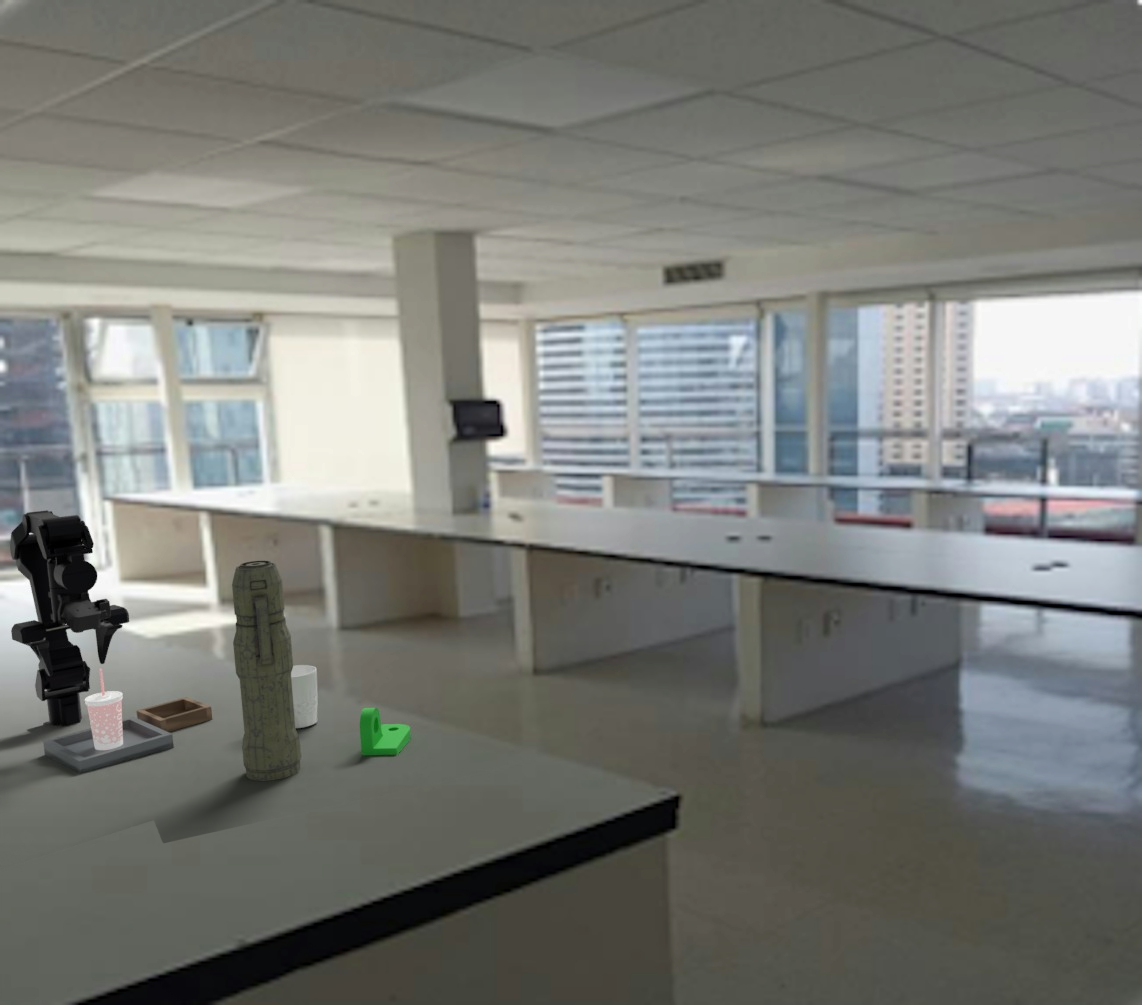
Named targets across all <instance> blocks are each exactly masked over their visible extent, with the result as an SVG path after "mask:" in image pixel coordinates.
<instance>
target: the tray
mask: <svg viewBox="0 0 1142 1005" xmlns="http://www.w3.org/2000/svg"><path fill="white" fill-rule="evenodd" d="M122 727H123V744H122V745H121V746H119V747H117V748H114V749H110V750H96V749H95V746H94V741H93V735H92V730H91V727H90V728H85V729H82V730H78V731H75V732H72V733H68V734H63V735H61V736H57V737H53V738H50V739H46V740H42V742H43V743H42V744H43V751H44V756H46V757H48V758H50V759H51V760H53V761H55V762H57V763H60V764H62V765H63V766H65V767H67V768H70V769H71V770H73V771H76V772H77V773H79V774H84V773H86V772H90V771H93V770H99V769H101V768H105V767H108V765H109V766H112V765H116V764H119V762H120V763H123V761H124V762H127V761H130V759H131V760H134V759H133V758H135V759H137V757H138V758H141V757H140V756H142V757H145V755H146V756H149V755H153V754H155V753H160V752H163V751H166V750H171V749H174V746H175V744H174V735H173V734H172V733H171V732H167V731H164V730H162V729H160V728H158V727H156V726H153V725H151V724H149V723H147V722H144V721H142V720H140V719H138V718H137V717H135V716H129V717H126V718H122ZM126 760H127V761H126Z"/></svg>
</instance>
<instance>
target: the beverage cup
mask: <svg viewBox="0 0 1142 1005" xmlns="http://www.w3.org/2000/svg"><path fill="white" fill-rule="evenodd" d="M98 670H99V678H100V680H99V681H100V688H101V692H97V693H94V694H90V695H88V696H86V697H85V698H84V702H85V706H87V707H86V708H87V712H88V718H89V723H90V728H91V730H92V735H93V741H94V746H95V749H96V750H110V749H114V748H117V747H119V746H121V745H122V744H123V727H122V719H123V708H122V700H123V695H124V694H123V692H122V691H117V690H108V691H105V684H104V682H105V681H104V673H103V668H101V667H100V668H99V669H98Z"/></svg>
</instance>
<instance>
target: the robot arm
mask: <svg viewBox="0 0 1142 1005" xmlns="http://www.w3.org/2000/svg"><path fill="white" fill-rule="evenodd" d="M93 548H94V541H93V538H92V535H91V532H90V529H89V527H88V526H87V525H86V522H85V521H84V520H81V517H80V516H79V515H77V514H73V515H65V516H59V515H56V514H54V513H53V511H49V510H39V511H28V512H26V513H23V514H22V520H21V522H20V523H19V524H18V525H17V526H16V527H15V528H14V529H13V530H12V531H11V533H10V541H9V549H10V556H11V560H12V561H15V564H16V568H17V571H18V572H19V573H20V574H21V575H23V576H24V577H25V578H26V579H27V580H29V585H30V589H31V593H32V598H33V603H34V607H35V608H34V609H35V612H36V617H37V620H35V619H34V620H29V621H24V622H18V623H14V624H13V626H12V627H11V630H10V631H11V640H13V641H15V642H18V643H20V644H23V645H26V646H28V647H29V648H30V649H31V650H32V652H33V653H34V654H35V656H36V657H37V658H38V660H39V662H38V669H37V671H36V677H35V684H34V688H35V693H36V697H37V698H38V699H39V700H40V701H41V702H45V701H46V703H47V704H46V705H47V712H48V721H45V722H43V723H42V725H43V726H45V725H48V724H49V725H50V726H57V727H59V726H62V727H69V726H73V725H77V724H80V723H81V720H82V719H83V715H82V706H81V696H80V694H81V693H87V692H89V691H90V689H91V687H90V675H91V667H90V666H89V665H88V664H87V662H86V661H85V660H83V656H82V653H81V648H80V647H79V646H78V645H77V644H75V645H74V644H73V643H72V642H71V641H70V640H69V636H68V633H67V631H68V630H71V632H72V633H77V634H79V633H83V632H84V631H89V630H90V631H91V630H95V640H96V647H97V655H98V656H97V657H98V660H99V664H101V665H104V664H105V663H106V659H107V655H108V652H109V651H108V650H109V648H110V644H111V642H112V641H111V640H112V639H113V636H114V634H115V633H116V632H117V630H119V629H122V628H123V624H128V623H129V622H130V615H129V614H130V613H129V611H128V609H126V607H124V606H120V605H116V604H112V605H111V602H110V601H109V600H108V599H107V598H103V599H102V598H101V599H97V600H96V601H92V599H91V598H90V594H89V591H90V590H91V589H92V588H93V587H94V586H95V585H96V583H97V580H98V572H97V569H96V567H95V566H94V565H93V564H92V563H90V562H89V561H87V560H85V555H88V554H93V552H94V550H93Z"/></svg>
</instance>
